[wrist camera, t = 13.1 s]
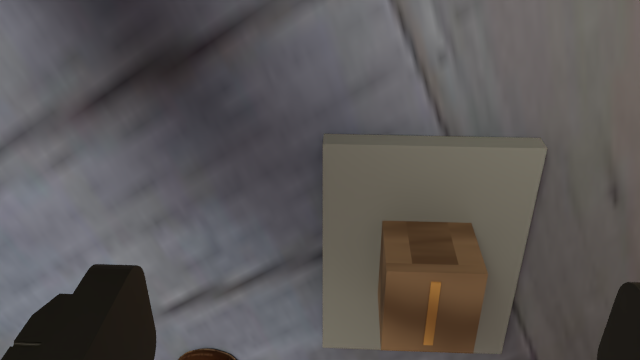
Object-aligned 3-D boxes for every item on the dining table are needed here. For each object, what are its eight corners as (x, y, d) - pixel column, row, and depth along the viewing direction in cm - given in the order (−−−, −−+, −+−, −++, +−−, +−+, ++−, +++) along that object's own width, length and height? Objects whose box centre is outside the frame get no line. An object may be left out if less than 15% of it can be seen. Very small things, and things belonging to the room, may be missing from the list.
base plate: (323, 333, 46) (322, 347, 44) (323, 133, 37) (322, 144, 35) (496, 339, 45) (501, 353, 44) (540, 138, 36) (547, 148, 35)
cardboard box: (382, 220, 38) (386, 272, 33) (471, 222, 38) (488, 275, 33) (377, 294, 41) (381, 351, 37) (459, 297, 41) (473, 354, 36)
